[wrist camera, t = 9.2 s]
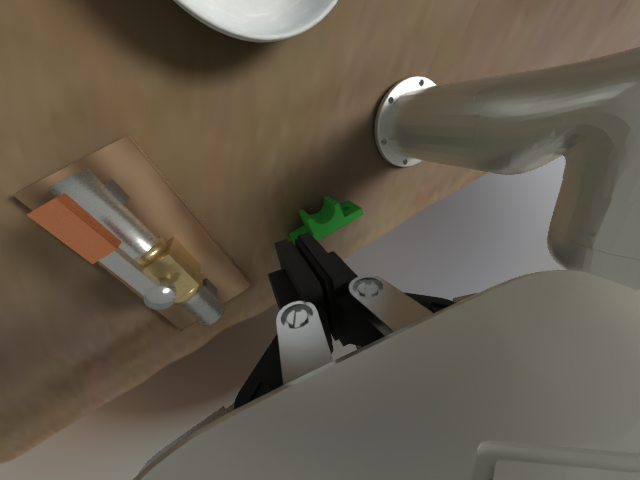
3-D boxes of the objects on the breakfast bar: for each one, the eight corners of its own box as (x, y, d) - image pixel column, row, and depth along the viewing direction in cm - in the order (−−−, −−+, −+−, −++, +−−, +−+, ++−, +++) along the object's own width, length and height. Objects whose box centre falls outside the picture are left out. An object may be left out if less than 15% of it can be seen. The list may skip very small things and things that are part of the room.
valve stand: (130, 135, 27) (126, 136, 26) (250, 280, 40) (251, 286, 39) (21, 191, 26) (12, 194, 25) (182, 323, 39) (181, 330, 37)
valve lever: (183, 285, 29) (181, 300, 27) (161, 299, 29) (157, 315, 26) (74, 188, 22) (57, 196, 19) (44, 205, 22) (23, 216, 19)
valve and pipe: (103, 160, 26) (82, 168, 22) (228, 294, 38) (230, 316, 34) (55, 186, 25) (24, 199, 21) (197, 313, 37) (195, 338, 33)
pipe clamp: (342, 185, 40) (356, 192, 36) (349, 205, 42) (363, 214, 38) (280, 220, 38) (288, 231, 34) (290, 239, 40) (299, 251, 36)
